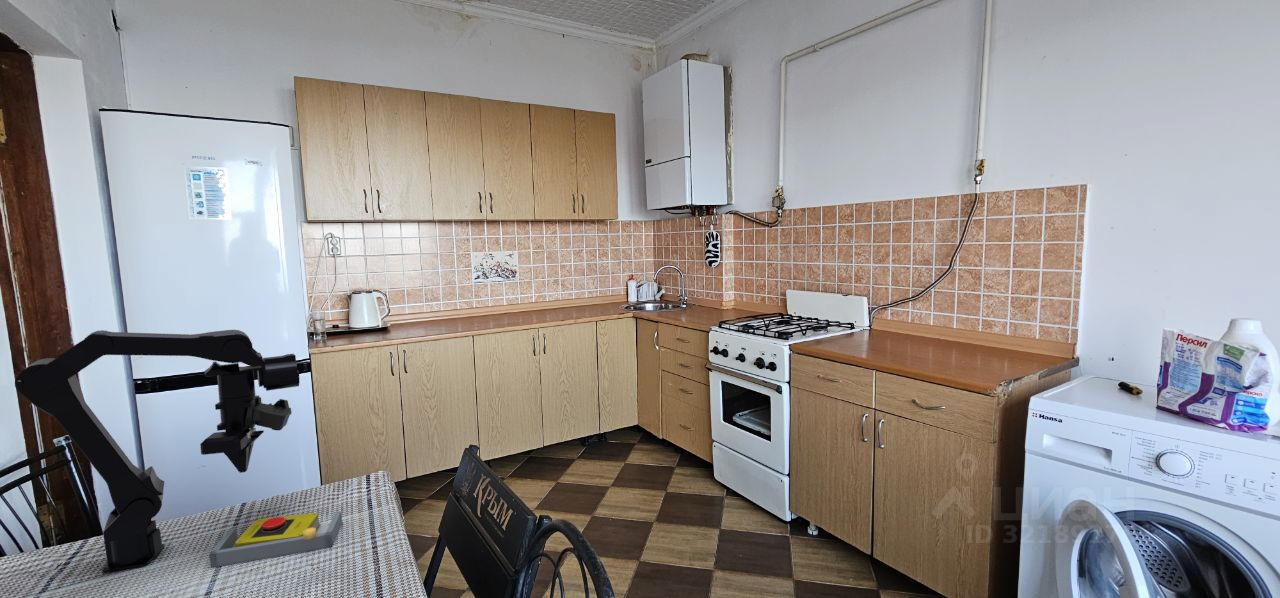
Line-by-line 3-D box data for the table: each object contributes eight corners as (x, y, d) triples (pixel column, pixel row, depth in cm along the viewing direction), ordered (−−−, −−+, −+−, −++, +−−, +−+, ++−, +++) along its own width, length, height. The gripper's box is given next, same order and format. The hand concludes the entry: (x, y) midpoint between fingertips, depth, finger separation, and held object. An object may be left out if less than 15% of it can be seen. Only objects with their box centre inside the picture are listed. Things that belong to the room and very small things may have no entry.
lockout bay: (209, 569, 96) (207, 549, 95) (231, 540, 105) (229, 522, 104) (331, 548, 101) (329, 529, 101) (342, 522, 110) (340, 505, 110)
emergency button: (247, 513, 107) (331, 504, 110) (250, 534, 108) (333, 525, 110) (221, 539, 98) (313, 529, 101) (224, 562, 99) (315, 551, 101)
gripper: (268, 404, 100) (274, 486, 102) (298, 380, 118) (303, 450, 119) (195, 410, 97) (203, 494, 98) (238, 384, 115) (243, 456, 116)
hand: (243, 471), depth 108 cm, fingers closed
